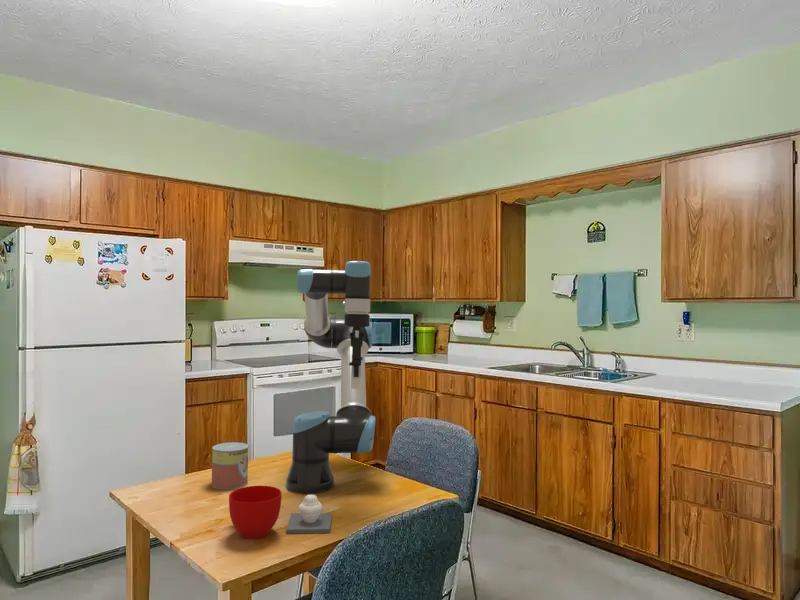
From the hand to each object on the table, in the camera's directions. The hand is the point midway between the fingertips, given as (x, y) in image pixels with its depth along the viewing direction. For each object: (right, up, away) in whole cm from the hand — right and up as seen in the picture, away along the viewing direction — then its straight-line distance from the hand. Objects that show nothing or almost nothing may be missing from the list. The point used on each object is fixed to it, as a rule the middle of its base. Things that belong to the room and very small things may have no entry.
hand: (355, 385), depth 161 cm
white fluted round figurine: (-11, -34, -17) cm, 39 cm away
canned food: (-42, -34, +15) cm, 56 cm away
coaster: (-11, -34, -17) cm, 40 cm away
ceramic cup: (-25, -34, -22) cm, 48 cm away
